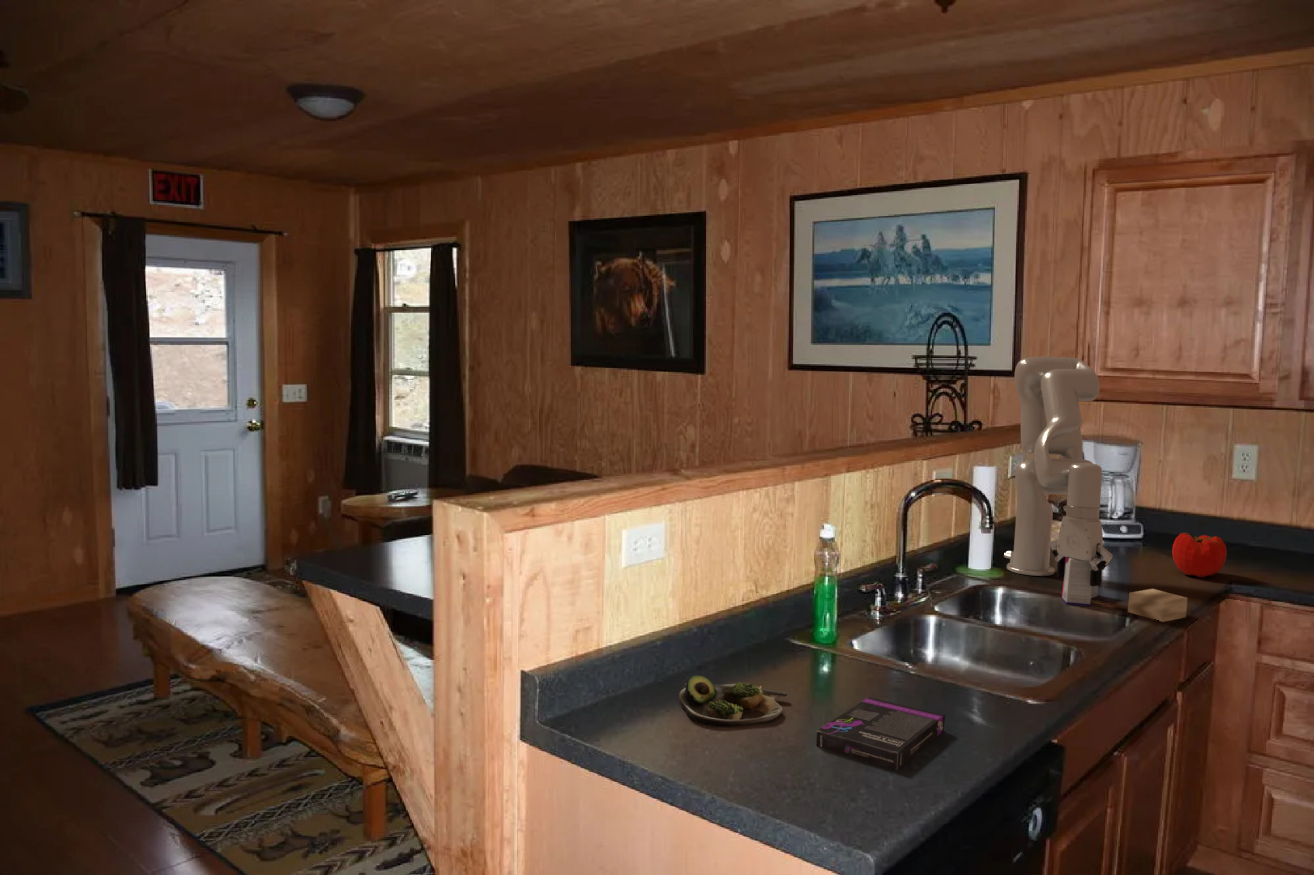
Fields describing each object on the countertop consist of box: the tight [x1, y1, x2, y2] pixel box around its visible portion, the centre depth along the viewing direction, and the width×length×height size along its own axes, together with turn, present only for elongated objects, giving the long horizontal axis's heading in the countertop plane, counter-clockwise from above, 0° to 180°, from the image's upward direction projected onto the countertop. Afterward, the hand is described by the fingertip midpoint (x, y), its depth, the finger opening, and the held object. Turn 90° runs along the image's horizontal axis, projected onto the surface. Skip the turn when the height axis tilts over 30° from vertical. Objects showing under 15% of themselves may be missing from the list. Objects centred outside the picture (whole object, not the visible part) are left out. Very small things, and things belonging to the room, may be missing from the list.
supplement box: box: [1061, 557, 1093, 607], centre depth 248 cm, size 6×6×12 cm
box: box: [815, 697, 946, 771], centre depth 162 cm, size 14×4×20 cm
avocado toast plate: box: [678, 674, 788, 727], centre depth 174 cm, size 19×18×5 cm
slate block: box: [1091, 586, 1099, 599], centre depth 255 cm, size 5×5×6 cm
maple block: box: [1127, 588, 1188, 623], centre depth 239 cm, size 9×9×5 cm
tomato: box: [1171, 532, 1228, 578], centre depth 281 cm, size 13×14×12 cm
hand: (1078, 581), depth 247 cm, fingers open, 9 cm apart
